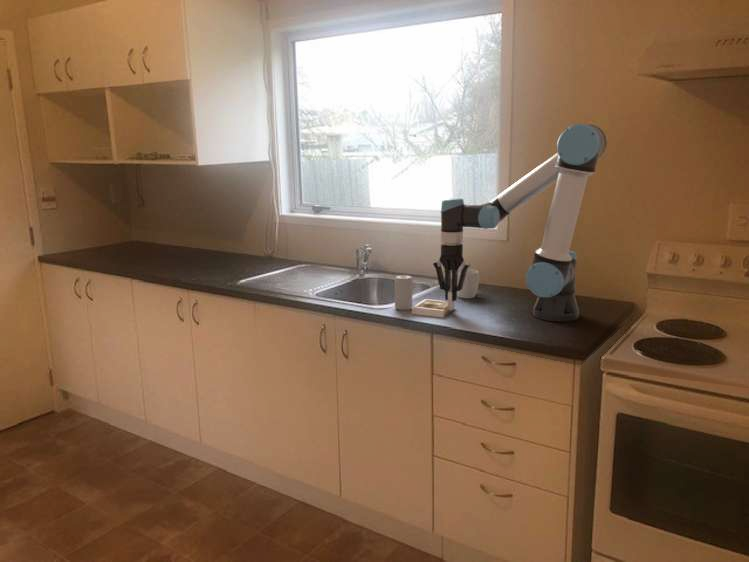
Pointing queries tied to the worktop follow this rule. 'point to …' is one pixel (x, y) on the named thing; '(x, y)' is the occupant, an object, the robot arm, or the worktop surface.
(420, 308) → the tray
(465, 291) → the mug
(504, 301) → the worktop surface
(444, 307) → the t block
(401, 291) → the beverage can
